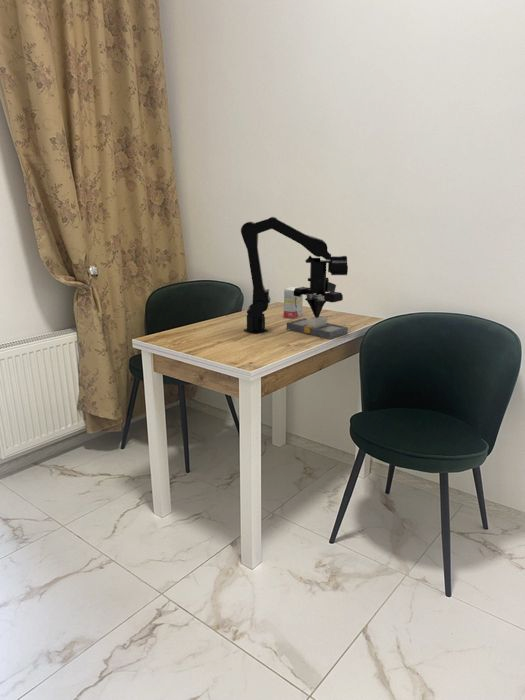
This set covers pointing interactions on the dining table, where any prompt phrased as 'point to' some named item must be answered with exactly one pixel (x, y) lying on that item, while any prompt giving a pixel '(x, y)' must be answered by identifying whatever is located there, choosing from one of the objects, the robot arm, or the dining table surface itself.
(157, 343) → the dining table surface
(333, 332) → the frame
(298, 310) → the ink box
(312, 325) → the light grey rectangular block
